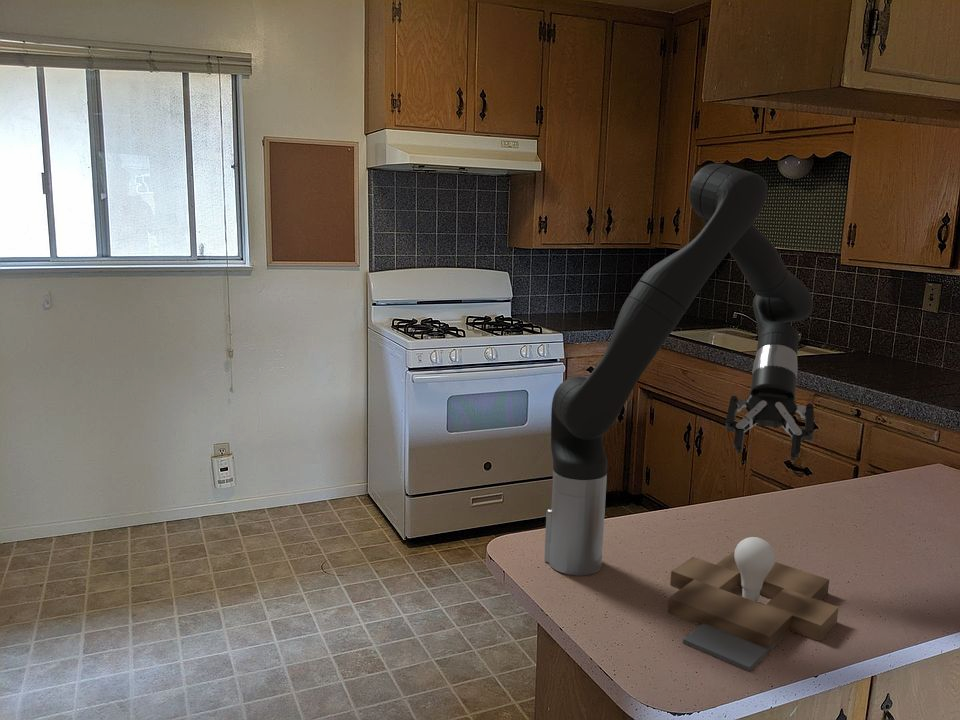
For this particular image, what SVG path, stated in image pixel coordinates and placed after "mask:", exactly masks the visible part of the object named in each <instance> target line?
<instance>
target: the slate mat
mask: <svg viewBox="0 0 960 720" xmlns="http://www.w3.org/2000/svg"><path fill="white" fill-rule="evenodd" d="M682 644H685V645H687V646H689V647H692V648H694V649H696V650H698V651H701V652H703V653H706V654H708V655H711V656H713V657H715V658H718V659H720V660H722V661H725V662H727V663H730V664H731V665H733V666H736V667H739V668H741V669H743V670H745V671H748V672H751V670H752V669H753V668H754V667H756V665H758V663H759V662H760V661H762V660H763V658H764V657H766V655H768V653H769V652H771V651H772V650H773V649H774V648H775V647H776V645H777V644H776V642H775V643H774V644H773V645H772V646H771V647H770V648H769V649H767V648H765V647H762V646H760V645H757V644H755V643H752V642H750V641H747V640H745V639H742V638H740V637H737V636H735V635H732V634H730V633H727V632H725V631H722V630H720V629H717V628H715V627H712V626H710V625H708V624H705V623H703V624H701V625H699V626H698V627H696V628H694V630H693V631H692V632H690V633H689V634H687V636H685V637H684V638H683V639H682ZM768 651H769V652H768Z"/></svg>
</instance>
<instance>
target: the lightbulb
mask: <svg viewBox="0 0 960 720" xmlns="http://www.w3.org/2000/svg"><path fill="white" fill-rule="evenodd" d="M734 551H735V553H734V557H735V562H736V564H737V567H738V569H739V571H740V574H741V580H742V581H741V585H742V587H743V588H741V590H742V591H741V592H742V594H741V597H744V598H747V599H749V600H752V601H755V602H758V601H759V599H760V596H761V595H760V590H761V589H762V585H763V581H764V579H765V577H766V576H767V574H768V573H769V572H770V571H771V569H772V568H773V566H774V563H775V562H776V555H775V550H774V549H773V547H772V546H771V544H770V543H769V542H767V541H766V540H764V539H763V538H760V537H756V536H749V537H746V538H744V539H742V540H741V541H740V542H738V543H737V545H736V547H735V549H734Z"/></svg>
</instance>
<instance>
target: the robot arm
mask: <svg viewBox="0 0 960 720" xmlns="http://www.w3.org/2000/svg"><path fill="white" fill-rule="evenodd" d="M688 189H689V190H688V197H689V203H690V206H691V208H692V209H693V211H694V212H695V213H696V214H697V216H699V218H700V219H701V220H702V221H703V222H704V223H705V225H704V227H702V229H701V231H700V232H699V233H698V234H697V235H696V237H694V238H693V239H692V240H691V241H690V242H689V243H687V244H686V245H684V246H683V247H682V248H680V249H679V250H677V251H675V252H673V253H672V254H670V255H668V256H667V257H664V258H663V259H662V260H659V262H657V263H656V264H654V265H653V266H651V267H650V268H649V269H647V270H646V271H645V272H644V273H643V275H642V276H641V277H640V279H639V280H638V282H637V283H636V285H635V286H634V287H633V289H632V290H631V292H630V293H629V295H628V296H627V298H626V299H625V301H624V303H623V304H622V307H621V308H620V311H619V313H618V315H617V318H616V321H615V324H614V327H613V331H612V334H611V338H610V340H609V343H608V346H607V348H606V350H605V352H604V353H603V355H602V357H601V359H600V360H599V361H598V363H597V364H596V366H595V367H594V369H593V370H592V371H591V372H590V374H589V375H588V376H587V377H586V376H576V375H575V376H572V377H570V378H567V379H565V380H563V382H561V383H560V384H559V385H558V387H557V388H556V390H555V391H554V393H553V397H552V403H551V413H550V417H551V419H550V425H551V426H550V449H551V456H552V464H553V465H552V487H551V490H552V491H551V507H550V508H549V509H547V510H546V513H545V533H544V534H545V535H544V537H545V538H544V558H543V559H544V561H545V562H547V563H548V564H549V565H550V567H551V568H553V570H555V571H557V572H560V573H562V574H565V575H570V576H587V575H592V574H595V573H597V572H599V571H600V570H601V568H602V562H603V560H602V559H603V545H604V533H605V532H604V530H605V515H606V514H605V509H606V496H607V495H606V494H607V493H606V492H607V479H608V478H607V477H608V476H607V475H608V457H607V454H606V451H605V447H604V441H603V435H604V434H606V433H607V432H608V431H609V430H610V429H611V428H612V427H613V425H614V424H615V422H616V421H617V418H618V417H619V416H620V414H621V411H622V410H623V408H624V407H625V404H626V402H627V401H628V399H629V397H630V395H631V394H632V391H633V390H634V388H635V386H636V385H637V382H638V381H639V379H640V378H641V376H642V375H643V373H644V372H645V370H646V368H648V366H649V365H650V363H651V362H652V360H653V359H654V358H655V356H657V354H658V352H659V350H660V349H661V347H662V346H663V344H664V343H665V342H666V341H667V339H668V337H669V336H670V335H671V334H672V332H673V331H674V329H676V327H677V326H678V324H679V322H680V321H681V319H682V318H683V316H684V315H685V314H686V312H687V311H688V309H689V307H690V306H691V304H692V303H693V301H694V300H695V298H696V296H697V295H698V294H699V292H700V290H701V289H703V287H704V286H705V284H706V282H708V279H709V278H710V277H711V276H712V274H713V273H714V271H715V270H716V269H717V268H718V266H719V265H720V263H721V262H722V261H723V259H725V257H726V256H727V255H728V253H729V254H730V255H731V256H732V258H733V259H734V261H735V262H736V264H737V266H738V268H739V269H740V271H741V273H742V275H743V276H744V279H745V280H746V282H747V284H748V286H749V287H750V289H751V291H752V292H753V293H754V294H755V296H754V297H753V300H752V310H753V313H754V317H755V320H756V325H757V326H756V327H757V334H758V335H757V336H758V339H757V347H756V353H755V354H756V355H755V356H754V357H755V358H754V362H753V368H752V372H751V373H752V374H751V381H750V391H749V397H748V398H747V399H739V398H738V396H736V395H732V396H730V400H729V404H728V409H727V414H726V418H725V430H726V431H727V432H733V433H734V439H733V448H734V451H736V452H737V454H741V455H742V452H743V445H744V439H745V438H744V437H745V433H746V432H747V431H748V430H751V429H752V428H753V427H755V426H756V425H759V426H760V427H772V428H776V429H779V427H781V428H783V430H784V432H786V433H787V434H788V435H789V436H790V437H791V438H792V439H791V449H790V461H795V460H796V458H798V459H799V457H800V456H801V446H802V445H801V443H802V441H805V440H806V441H812V440H813V438H814V432H815V423H814V422H815V421H814V419H815V410H814V409H815V406H814V404H813V403H810V402H809V403H806V405H797V404H796V400H795V399H796V393H797V392H796V391H797V379H798V370H799V369H798V367H799V366H798V365H799V364H798V352H799V351H798V350H799V344H800V343H799V342H800V336H799V332H798V329H797V328H796V327H795V326H793V325H792V324H789V323H793V322H794V323H795V322H800V321H804V320H806V319H807V318H808V317H809V316H811V313H812V312H813V308H814V301H813V296H812V293H811V291H810V290H809V288H808V287H807V285H805V284H804V283H803V282H802V281H801V280H800V279H799V278H798V277H797V276H795V275H794V274H793V273H792V272H791V271H790V270H788V269H787V267H786V265H785V262H784V260H783V258H782V257H781V254H780V253H779V251H778V250H777V248H776V247H775V246H774V244H773V243H772V242H771V241H770V240H769V239H768V238H767V237H766V236H765V234H763V233H762V232H761V230H759V228H758V227H756V225H754V222H755V221H756V219H757V218H758V217H759V216H760V213H761V211H762V209H763V208H764V206H765V203H766V200H767V197H768V184H767V182H766V180H765V179H764V178H763V177H762V176H761V175H759V174H757V173H754V172H753V171H749V170H746V169H741V168H739V167H738V168H737V167H735V166H732V165H728V164H722V163H709V164H706V165H704V166H703V167H701V168H700V169H698V171H697V172H696V173H695V175H694V176H693V178H692V180H691V182H690V185H689V188H688ZM744 408H745V409H746V410H747V412H746V414H745V415H744V417H743V418H741V420H740V421H738V422H737V421H735V420H736V416H737V413H739V412H741V411H742V409H744ZM796 414H799V415H800V418H801V419H803V420H804V423H805V424H804V429H801V428H800V427H799V426H798V424H797V423H796V421H795V419H794V418H793V417H794V416H795V415H796Z"/></svg>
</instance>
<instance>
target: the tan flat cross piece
mask: <svg viewBox="0 0 960 720" xmlns="http://www.w3.org/2000/svg"><path fill="white" fill-rule="evenodd" d="M734 553H735V550H734V551H733V552H731V553H730V554H728V555H727V556H726V557H724V558H723V559H721V560H720V561H718V562H717V563H716V564H715V563H711V562H710V561H709V562H708V561H706V560H703V559H701V558H698V557H694V556H691V557H690V558H689V559H687V560H686V561H683V562H682V563H681V564H679V565H678V566H676V567H675V568H673V569H672V570H671V571H670V582H669V585H670V586H673V587H675V588H677V589H678V590H677V591H676V592H674V593H673V594H672V595H670V596H668V602H667V613H669V614H671V615H674V616H676V617H679V618H682V619H684V620H686V621H689V622H690V623H694V624H696V625H699V626H700V625H701V624H703V623H705V624H708V625H710V626H712V627H715V628H717V629H720V630H722V631H725V632H727V633H730V634H732V635H735V636H737V637H740V638H742V639H745V640H747V641H750V642H752V643H755V644H757V645H760V646H762V647H765V648H767V649H769V648H770V647H771V646H772V645H773V644H774V643H775V642H776V645H777V644H778V643H780V642H781V640H782V639H784V638H785V637H786V635H788V634H789V633H790V632H791V631H792V632H794V633H797V634H799V635H802V636H805V637H807V638H810V639H813V640H814V641H817V642H820V641H821V640H822V639H823V638H824V637H825V635H827V633H829V631H830V630H832V628H833V626H835V624H836V623H837V622H838V617H839V615H838V614H839V606H836V605H834V604H831V603H829V602H824V601H822V600H823V599H824V598H825V597H826V596H827V595H828V593H829V585H830V579H828V578H826V577H823V576H819V575H817V574H814V573H810V572H808V571H804V570H802V569H798V568H795V567H792V566H789V565H785V564H782V563H779V562H776V561H775V563H774V566H773V568H772V569H771V571H770V572H769V573H768V574H767V576H766V577H765V579H764V581H763V585H762V589H761V590H760V595H759V596H763V597H766V598H768V599H770V600H769V601H768V602H767V603H766V604H762V603H760V602H758V601H757V602H755V601H752V600H749V599H747V598H744V597H742V595H738V594H736V593H733V592H732V591H734V590H735V589H737V588H740V589H743V587H742V585H741V581H742V580H741V574H740V571H739V569H738V567H737V564H736V562H735V557H734ZM769 652H770V651H768V653H769Z"/></svg>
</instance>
